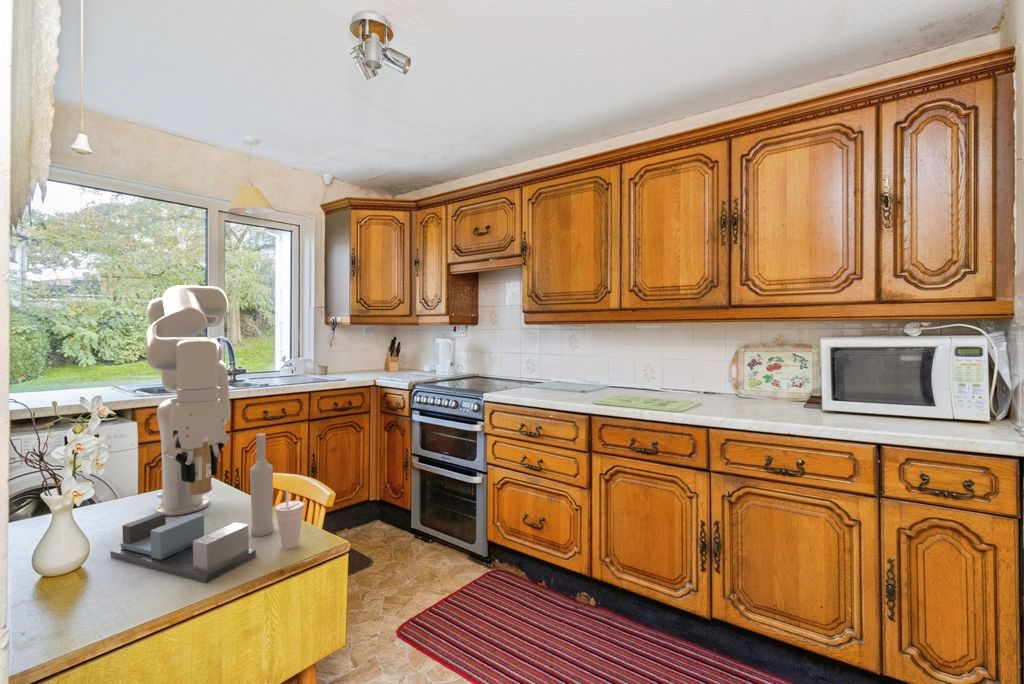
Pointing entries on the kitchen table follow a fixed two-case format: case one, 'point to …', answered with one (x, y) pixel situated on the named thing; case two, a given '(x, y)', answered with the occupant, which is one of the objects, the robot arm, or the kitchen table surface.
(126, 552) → the clamp base
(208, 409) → the robot arm
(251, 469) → the bottle
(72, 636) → the kitchen table surface
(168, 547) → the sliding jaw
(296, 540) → the smoothie
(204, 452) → the spice jar
